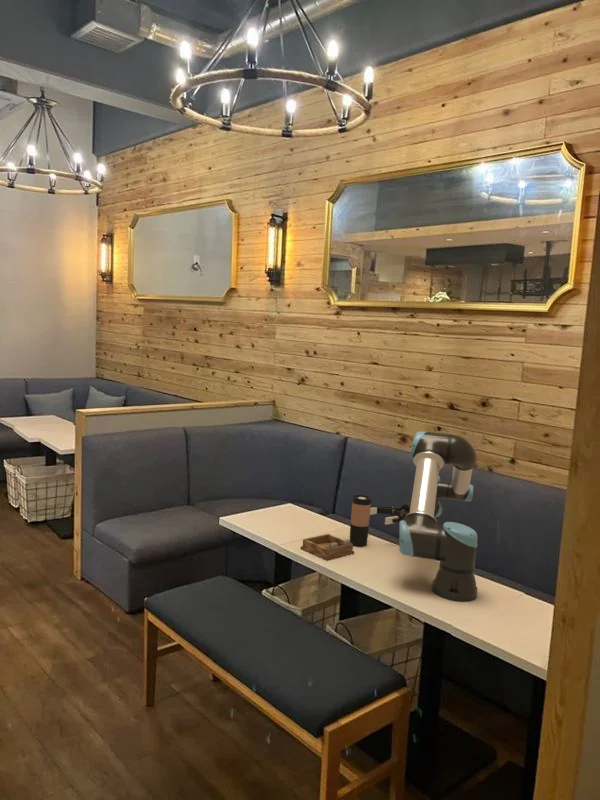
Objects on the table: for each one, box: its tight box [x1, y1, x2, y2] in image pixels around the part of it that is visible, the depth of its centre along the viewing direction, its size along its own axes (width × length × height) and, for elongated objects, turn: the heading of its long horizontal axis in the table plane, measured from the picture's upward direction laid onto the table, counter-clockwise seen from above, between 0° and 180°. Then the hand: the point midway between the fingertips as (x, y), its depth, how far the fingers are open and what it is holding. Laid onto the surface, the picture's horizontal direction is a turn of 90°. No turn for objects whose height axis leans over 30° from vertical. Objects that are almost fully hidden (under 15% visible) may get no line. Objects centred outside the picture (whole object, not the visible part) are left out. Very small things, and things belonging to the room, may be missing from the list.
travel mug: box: [349, 494, 372, 548], centre depth 258 cm, size 8×8×20 cm
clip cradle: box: [300, 533, 355, 562], centre depth 247 cm, size 15×15×6 cm
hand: (374, 516), depth 263 cm, fingers open, 13 cm apart
